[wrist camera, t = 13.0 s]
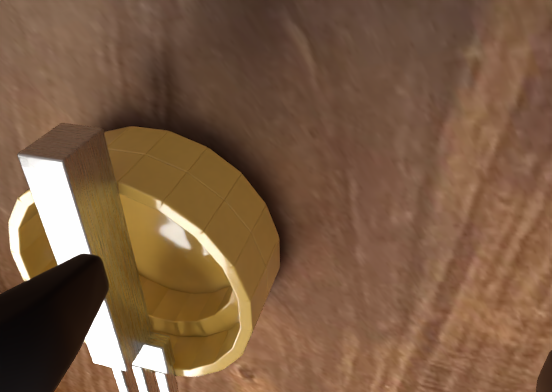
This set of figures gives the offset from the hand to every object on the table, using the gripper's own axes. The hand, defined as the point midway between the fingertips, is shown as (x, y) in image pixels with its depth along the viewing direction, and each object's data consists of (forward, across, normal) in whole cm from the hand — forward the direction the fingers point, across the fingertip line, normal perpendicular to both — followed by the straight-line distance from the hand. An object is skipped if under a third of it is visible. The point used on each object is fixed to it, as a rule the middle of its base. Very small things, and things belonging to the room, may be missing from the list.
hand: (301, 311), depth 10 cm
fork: (+7, +10, +9) cm, 15 cm away
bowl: (+12, +10, +9) cm, 18 cm away
